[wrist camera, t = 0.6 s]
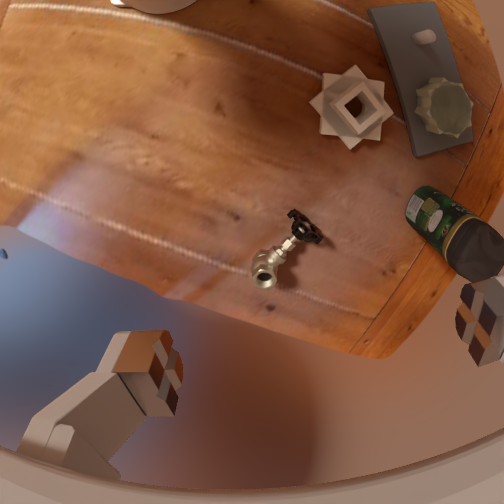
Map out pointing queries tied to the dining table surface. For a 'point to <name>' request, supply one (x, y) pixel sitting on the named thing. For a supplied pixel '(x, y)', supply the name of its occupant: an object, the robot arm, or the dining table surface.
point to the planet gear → (339, 118)
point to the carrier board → (424, 76)
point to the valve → (282, 251)
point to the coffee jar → (456, 234)
